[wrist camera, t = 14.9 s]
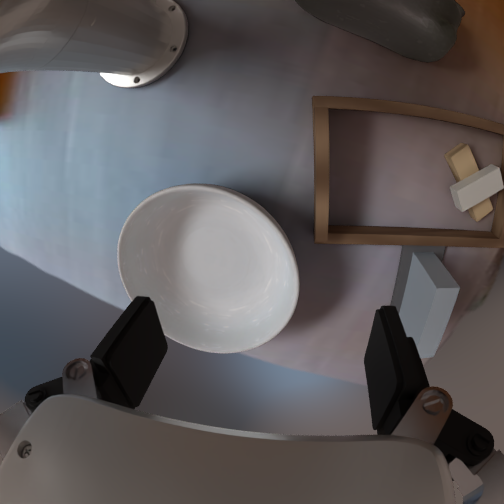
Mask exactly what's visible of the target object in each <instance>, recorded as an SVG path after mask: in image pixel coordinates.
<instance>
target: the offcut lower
mask: <svg viewBox="0 0 504 504" xmlns="http://www.w3.org/2000/svg"><path fill="white" fill-rule="evenodd" d="M444 156H445V158H446V160H447V162H448V164H449V167H450V169H451V171H452V173H453V175H454V177H455V179H456V182H457V183H458V182H459V181H461V180H463V179H465V178H467V177H469V176H470V175H472V174H474V173H476V172H478V171H479V169H478V166H477V164H476V162H475V159H474V157H473V155H472V152H471V150H470V148H469V146H468V145H467V144H463V143H460V144H459V145H457V146H456V147H454V148H453V149H452V150H450V151H449V152H448V153H446V154H445V155H444ZM492 210H493V208H492V205H491V202H490V199H489V197H488V198H486V199H485V200H483V201H481V202H480V203H478V204H476V205H474V206H473V207H471V208H469V209H468V211H469V214H470V216H471V218H473V219H474V220H475V221H476V222H478V221H479V220H480V219H482V218H483V217H484V216H486V215H487V214H488V213H489V212H491V211H492Z"/></svg>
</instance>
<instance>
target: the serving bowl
mask: <svg viewBox="0 0 504 504" xmlns="http://www.w3.org/2000/svg"><path fill="white" fill-rule="evenodd" d="M117 259H118V268H119V273H120V277H121V280H122V283H123V285H124V288H125V290H126V292H127V294H128V296H129V298H130V299H131V301H133V300H134V298H135V297H136V296H145V297H150V299H151V300H152V301H154V303H155V307H156V310H157V313H158V317H159V320H160V323H161V326H162V330H163V333H164V335H166V336H167V337H169V338H171V339H173V340H174V341H177V342H178V343H181V344H183V345H186V346H188V347H191V348H194V349H197V350H201V351H206V352H213V353H235V352H242V351H247V350H250V349H253V348H256V347H258V346H261V345H263V344H265V343H266V342H268V341H270V340H271V339H273V338H274V337H275V336H276V335H278V334H279V333H280V332H281V331H282V330H283V329H284V327H285V326H286V325H287V323H288V322H289V321H290V319H291V317H292V315H293V313H294V311H295V308H296V306H297V302H298V297H299V290H300V278H299V270H298V265H297V261H296V257H295V254H294V251H293V248H292V246H291V244H290V242H289V240H288V238H287V236H286V234H285V233H284V231H283V229H282V228H281V227H280V225H279V224H278V223H277V221H276V220H275V219H274V218H273V217H272V216H271V215H270V214H269V213H268V212H267V211H266V210H265V209H264V208H263V207H262V206H260V205H259V204H258V203H256V202H255V201H253V200H252V199H250V198H249V197H247V196H245V195H243V194H241V193H239V192H237V191H234V190H232V189H229V188H225V187H222V186H218V185H212V184H185V185H178V186H174V187H170V188H167V189H164V190H161V191H159V192H156V193H154V194H153V195H151V196H149V197H148V198H146V199H145V200H144V201H142V202H141V203H140V204H139V205H138V206H137V207H136V208H135V209H134V210H133V211H132V213H131V214H130V215H129V217H128V218H127V220H126V222H125V224H124V226H123V228H122V231H121V233H120V237H119V241H118V250H117Z"/></svg>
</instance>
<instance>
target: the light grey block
mask: <svg viewBox="0 0 504 504" xmlns="http://www.w3.org/2000/svg"><path fill="white" fill-rule="evenodd" d="M459 290H460V287H459V285H458V284H457V283H456V281H455V280H454V278H453V277H452V276H451V274H450V273H449V272H448V270H447V269H446V268H445V266H444V265H443V264H442V262H441V261H440V260H439V259H438V257H437V256H436V255H435V254H434V252H413V255H412V261H411V266H410V270H409V275H408V280H407V284H406V288H405V293H404V297H403V301H402V304H401V308H400V312H399V316H400V319H401V322H402V324H403V327H404V330H405V333H406V336H407V337H412V338H413V339H414V341H415V344H416V347H417V350H418V353H419V355H420V358H428V357H434V354H435V352H436V350H437V348H438V345H439V343H440V341H441V338H442V336H443V334H444V331H445V329H446V326H447V323H448V321H449V318H450V316H451V313H452V310H453V307H454V304H455V302H456V299H457V296H458V293H459Z"/></svg>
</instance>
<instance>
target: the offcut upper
mask: <svg viewBox="0 0 504 504" xmlns="http://www.w3.org/2000/svg"><path fill="white" fill-rule="evenodd" d="M503 188H504V185H503V181H502V176H501V172H500V168H499V167H497V166H495V165H492V164H490V165H489V166H487V167H485V168H483V169H481V170H480V171H478V172H476V173H474V174H472V175H470V176H469V177H467V178H465V179H463V180H461V181H459V182H458V183H456V184H454V185H452V186H450V190H451V193H452V197H453V200H454V204H455V207H456V208H458V209H459V210H460V211H462V212H464V211H465V210H467V209H469V208H471V207H473V206H474V205H476V204H478V203H480V202H481V201H483V200H485V199H486V198H488V197H490V196H491V195H493V194H495V193H497V192H498V191H500V190H502V189H503Z"/></svg>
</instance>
